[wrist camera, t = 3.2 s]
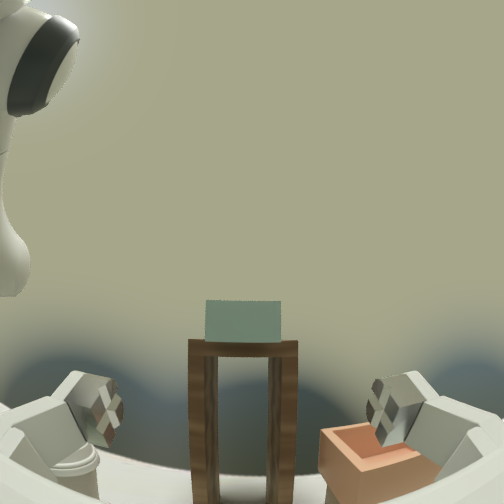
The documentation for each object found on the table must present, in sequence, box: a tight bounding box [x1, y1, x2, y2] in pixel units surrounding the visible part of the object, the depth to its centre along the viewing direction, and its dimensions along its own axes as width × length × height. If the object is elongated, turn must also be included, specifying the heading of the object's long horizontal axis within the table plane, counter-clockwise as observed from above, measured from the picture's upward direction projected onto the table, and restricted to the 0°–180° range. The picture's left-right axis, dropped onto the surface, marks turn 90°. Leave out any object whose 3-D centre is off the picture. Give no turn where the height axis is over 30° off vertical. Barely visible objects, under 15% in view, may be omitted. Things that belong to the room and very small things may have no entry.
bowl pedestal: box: [318, 422, 442, 504], centre depth 18 cm, size 12×12×16 cm
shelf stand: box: [188, 339, 298, 504], centre depth 28 cm, size 14×10×26 cm
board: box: [205, 300, 281, 343], centre depth 27 cm, size 23×4×2 cm, turn 2°
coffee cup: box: [50, 442, 100, 500], centre depth 14 cm, size 10×10×15 cm
